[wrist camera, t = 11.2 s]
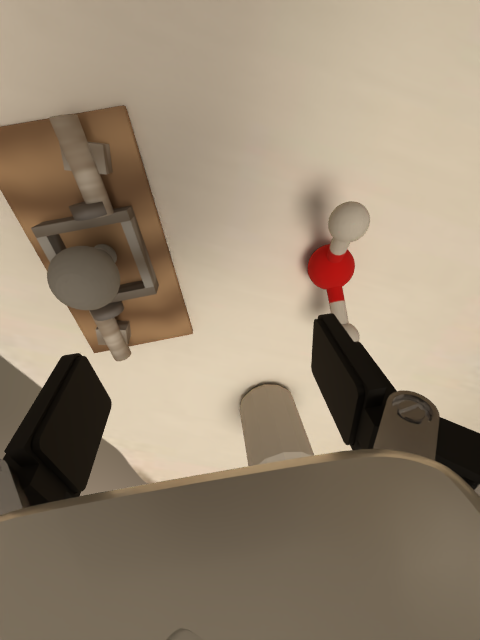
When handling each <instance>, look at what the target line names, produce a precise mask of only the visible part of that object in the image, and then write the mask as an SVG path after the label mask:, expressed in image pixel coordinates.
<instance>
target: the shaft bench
mask: <svg viewBox="0 0 480 640" xmlns="http://www.w3.org/2000/svg"><path fill="white" fill-rule="evenodd" d="M0 190H1V191H2V193H3V195H4V197H5V198H6V200H7V202H8V204H9V205H10V207H11V209H12V211H13V212H14V214H15V216H16V218H17V219H18V221H19V223H20V224H21V226H22V228H23V230H24V231H25V233H26V235H27V237H28V238H29V240H30V242H31V244H32V245H33V247H34V249H35V251H36V252H37V254H38V256H39V258H40V259H41V261H42V263H43V265H44V266H45V268H46V270H47V271H48V266H49V264H50V262H51V260H52V259H53V258H54V257H55V255H57V254H58V253H59V252H61V251H62V250H64V249H67V248H70V247H74V246H89V247H95V246H96V245H98V244H105V245H108V246H110V247H111V248H113V250H114V251H115V252H116V255H117V260H116V262H115V264H116V266H117V267H118V270H119V273H120V287H119V290H118V293H117V295H116V296H115V298H114V299H113V300H112V301H111V302H110V303H109V304H107V305H105V306H104V307H101V308H98V309H94V310H79V309H75V308H71V307H69V306H68V308H69V310H70V312H71V313H72V315H73V317H74V319H75V320H76V322H77V324H78V326H79V327H80V329H81V331H82V332H83V334H84V336H85V338H86V339H87V341H88V343H89V345H90V346H91V348H92V350H93V352H94V353H98V352H103V351H108V350H110V352H111V354H112V355H113V357H114V359H115V360H116V361H123V360H125V359H127V358H128V357H129V356H130V355H131V351H130V349H129V347H128V346H133V345H138V344H143V343H149V342H154V341H159V340H164V339H169V338H174V337H179V336H184V335H189V334H193V329H192V326H191V323H190V319H189V316H188V313H187V309H186V306H185V303H184V299H183V296H182V293H181V289H180V286H179V283H178V279H177V276H176V273H175V269H174V266H173V263H172V259H171V256H170V253H169V249H168V246H167V243H166V239H165V236H164V233H163V229H162V226H161V223H160V219H159V216H158V212H157V209H156V206H155V202H154V199H153V196H152V192H151V189H150V186H149V182H148V179H147V176H146V172H145V169H144V166H143V162H142V159H141V156H140V152H139V149H138V146H137V142H136V139H135V136H134V132H133V129H132V126H131V122H130V119H129V116H128V112H127V109H126V106H124V105H123V106H117V107H111V108H106V109H100V110H94V111H88V112H83V113H77V114H67V115H59V116H54V117H51V118H48V119H43V120H37V121H31V122H25V123H20V124H14V125H8V126H2V127H0Z"/></svg>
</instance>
